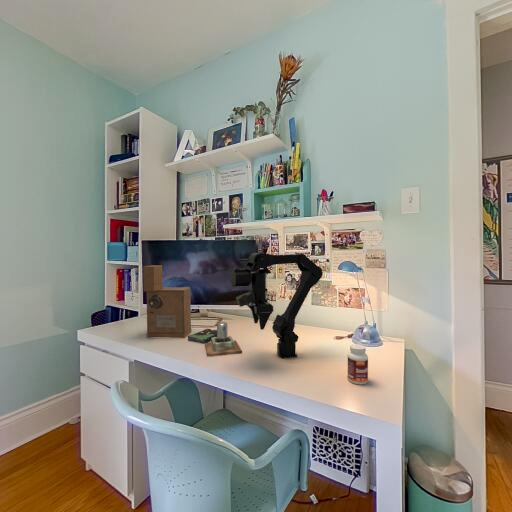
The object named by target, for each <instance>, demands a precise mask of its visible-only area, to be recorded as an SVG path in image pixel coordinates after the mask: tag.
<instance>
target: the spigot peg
mask: <svg viewBox="0 0 512 512" xmlns="http://www.w3.org/2000/svg"><path fill="white" fill-rule="evenodd" d="M216 330H217V343H219V342H228V336H229V335H228V334H229V333H228V322H225V321H219V322H217V323H216Z"/></svg>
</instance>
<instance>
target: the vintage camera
mask: <svg viewBox="0 0 512 512" xmlns="http://www.w3.org/2000/svg"><path fill="white" fill-rule="evenodd" d="M142 273H143V274H142V278H143V279H142V282H143V287H142V288H143V292H146V332H147V333H146V338H151V337H171V338H172V339H177V338H178V339H186V338H188V336H190V335H191V333H192V319H191V318H192V317H191V316H192V313H191V312H192V307H191V306H192V305H191V304H192V303H191V287H190V286H187V287H184V286H183V287H182V286H181V287H179V286H178V287H177V286H176V287H175V286H174V287H173V286H172V287H171V286H169V287H168V286H167V287H166V286H165V287H163V265H161V264H160V265H159V264H158V265H153V264H152V265H144V266H142ZM185 337H186V338H185ZM171 338H170V339H171Z"/></svg>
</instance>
